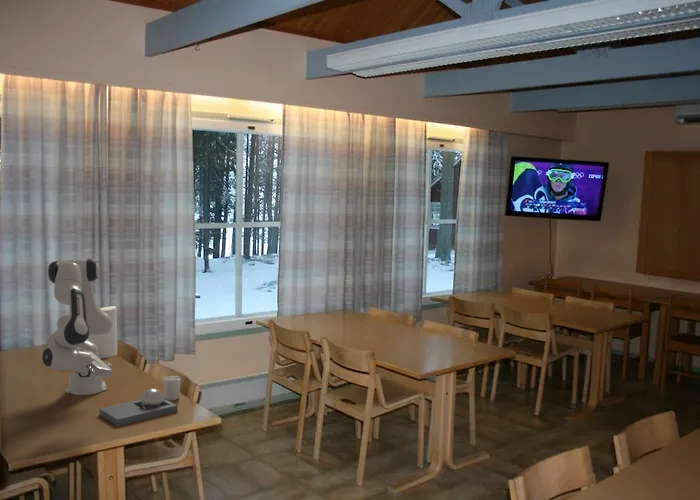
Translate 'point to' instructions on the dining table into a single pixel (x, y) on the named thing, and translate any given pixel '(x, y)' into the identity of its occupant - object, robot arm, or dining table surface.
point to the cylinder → (107, 336)
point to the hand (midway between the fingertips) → (110, 366)
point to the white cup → (172, 387)
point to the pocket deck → (135, 412)
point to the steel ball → (151, 399)
